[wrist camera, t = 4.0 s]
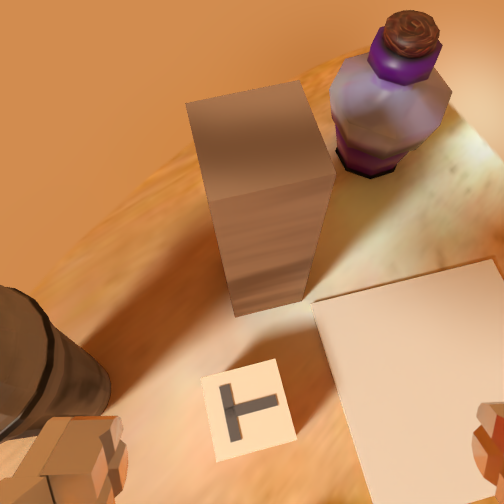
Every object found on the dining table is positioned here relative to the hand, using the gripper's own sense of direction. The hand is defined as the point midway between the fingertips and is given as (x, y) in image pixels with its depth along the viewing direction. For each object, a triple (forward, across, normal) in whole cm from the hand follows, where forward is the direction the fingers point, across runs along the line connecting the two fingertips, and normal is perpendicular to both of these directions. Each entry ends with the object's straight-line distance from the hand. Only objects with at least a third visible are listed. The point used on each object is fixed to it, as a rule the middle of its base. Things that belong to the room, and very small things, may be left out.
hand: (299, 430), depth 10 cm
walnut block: (+21, 0, +6) cm, 22 cm away
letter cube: (+15, +2, +12) cm, 19 cm away
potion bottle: (+29, -9, -2) cm, 31 cm away
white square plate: (+16, -11, +11) cm, 22 cm away
